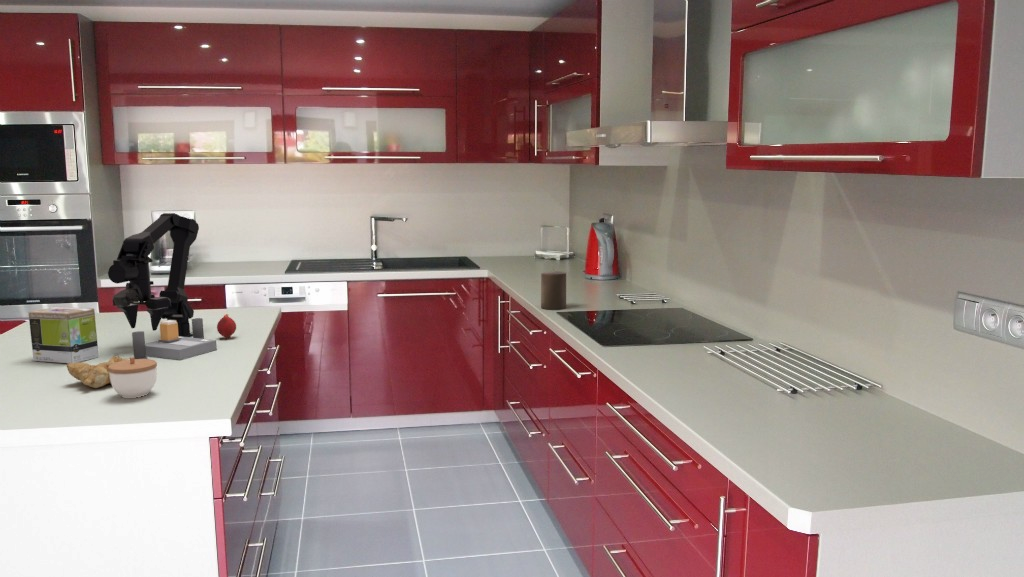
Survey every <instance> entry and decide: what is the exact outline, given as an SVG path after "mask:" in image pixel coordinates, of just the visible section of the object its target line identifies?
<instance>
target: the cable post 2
mask: <svg viewBox="0 0 1024 577" xmlns="http://www.w3.org/2000/svg"><path fill="white" fill-rule="evenodd" d="M203 322H204V318H202V317H201V318H200V317H196V318H191V329H192V330H191V331H192V334H193V335H192V338H200V339H205V337H204V336H205V335H204V323H203Z"/></svg>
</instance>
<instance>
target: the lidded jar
mask: <svg viewBox="0 0 1024 577" xmlns="http://www.w3.org/2000/svg"><path fill="white" fill-rule="evenodd" d="M157 366H158V362H157V361H156V360H154V359H149V358H147V359H134V356H130V357H129V359H128V360H126V361H120V362H116V363H113V364H111V365H109V367H108V371H109V376H110V381H111V384H110V385H111V387H112V389H113V390H114V391H115V393H117V395H120V396H122V397H125V398H124V399H137V398H136V397H138V398H142V397H141V396H143V397H145V396H144V395H146V396H148V395H149V394H150V392H151V391H152V389H153V388H154V387H155V384H156V382H157V375H158V372H157V369H158V368H157ZM148 393H149V394H148ZM147 394H148V395H147ZM122 397H121V398H122Z"/></svg>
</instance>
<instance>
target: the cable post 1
mask: <svg viewBox="0 0 1024 577" xmlns="http://www.w3.org/2000/svg"><path fill="white" fill-rule="evenodd" d="M131 338H132V347H133V348H132V349H133V357H134V359H148V356H146V348H145V344H146V338H145V331H142V330H141V331H140V330H139V331H133V332H131Z"/></svg>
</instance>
